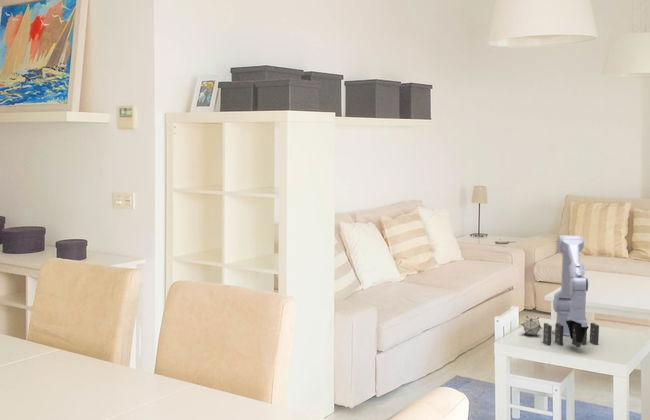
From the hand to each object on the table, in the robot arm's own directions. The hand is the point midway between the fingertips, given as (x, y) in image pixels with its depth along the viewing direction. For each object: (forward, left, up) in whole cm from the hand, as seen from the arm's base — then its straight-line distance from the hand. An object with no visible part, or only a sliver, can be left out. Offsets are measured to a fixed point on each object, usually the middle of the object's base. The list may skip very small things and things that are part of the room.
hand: (576, 340), depth 304 cm
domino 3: (0, 0, -2) cm, 2 cm away
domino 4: (-11, -3, -4) cm, 12 cm away
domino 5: (-15, +1, -4) cm, 15 cm away
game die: (-7, -24, -4) cm, 25 cm away
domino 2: (-3, -9, -4) cm, 10 cm away
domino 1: (+1, -12, -4) cm, 13 cm away
